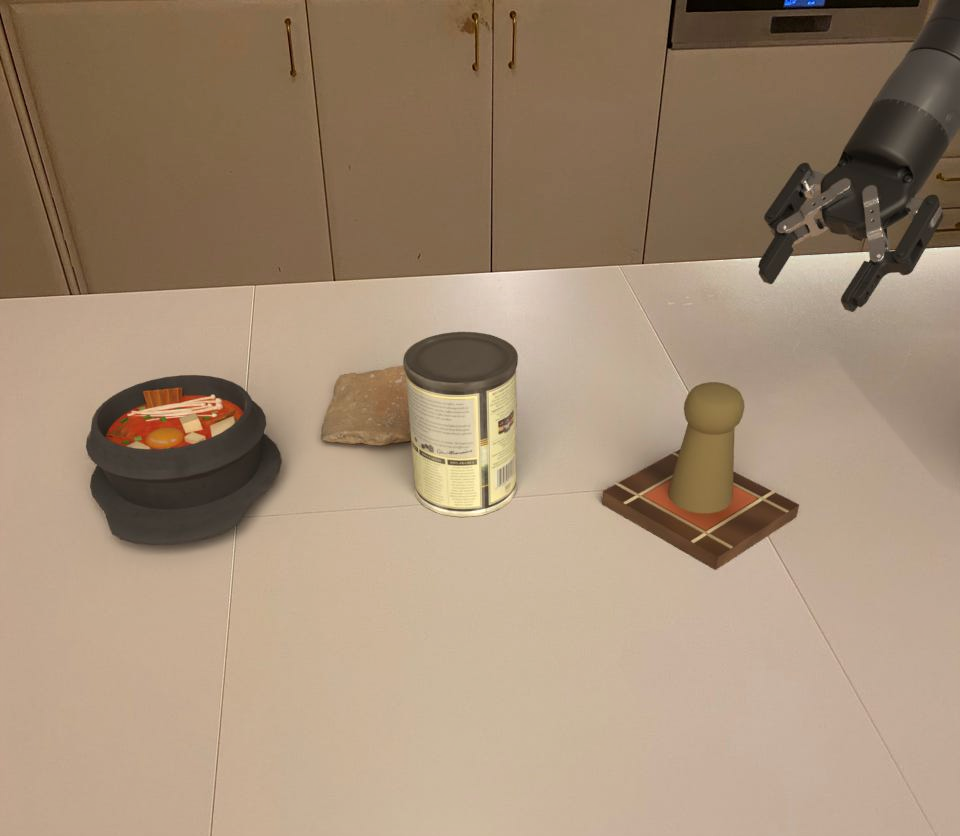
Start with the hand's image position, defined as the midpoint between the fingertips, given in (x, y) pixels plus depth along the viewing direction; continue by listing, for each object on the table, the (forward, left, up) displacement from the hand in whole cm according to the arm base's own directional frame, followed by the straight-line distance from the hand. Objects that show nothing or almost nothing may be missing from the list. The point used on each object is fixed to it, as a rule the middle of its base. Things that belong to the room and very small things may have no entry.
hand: (803, 292), depth 87 cm
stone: (+23, -35, -19) cm, 46 cm away
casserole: (+45, -37, -19) cm, 61 cm away
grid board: (+11, 0, -18) cm, 21 cm away
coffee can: (+25, -18, -19) cm, 36 cm away
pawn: (+10, 0, -17) cm, 20 cm away
